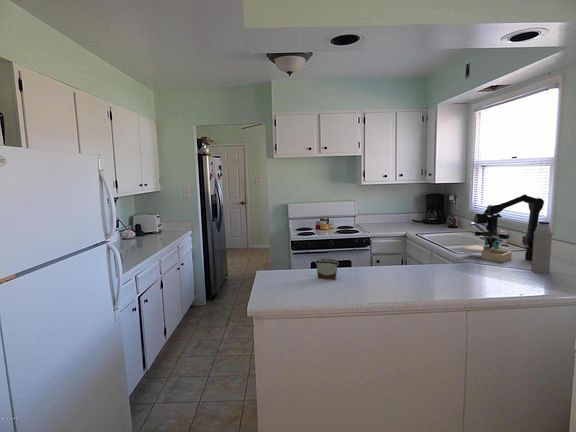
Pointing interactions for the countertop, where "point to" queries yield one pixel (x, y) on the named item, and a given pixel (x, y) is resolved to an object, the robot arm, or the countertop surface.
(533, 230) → the robot arm
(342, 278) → the countertop surface
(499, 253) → the carton
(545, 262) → the thermos bottle
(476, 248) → the carton lid
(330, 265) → the food container
